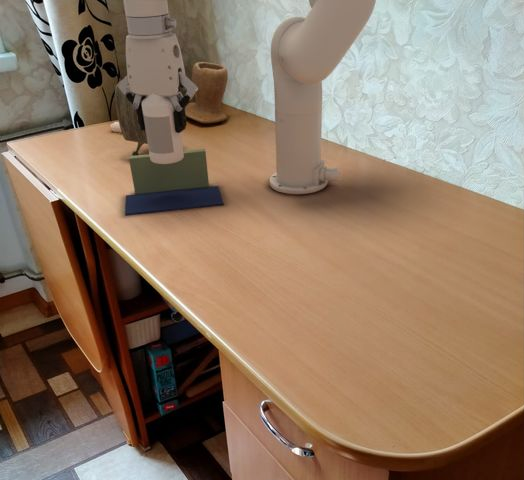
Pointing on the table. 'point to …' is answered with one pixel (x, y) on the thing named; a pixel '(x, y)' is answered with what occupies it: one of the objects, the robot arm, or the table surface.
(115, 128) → the sitting furry creature
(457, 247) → the table surface
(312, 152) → the robot arm
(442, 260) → the table surface
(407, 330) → the table surface
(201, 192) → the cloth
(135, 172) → the backboard
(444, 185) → the table surface
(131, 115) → the tabletop clock
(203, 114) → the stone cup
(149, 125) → the white capped bottle
